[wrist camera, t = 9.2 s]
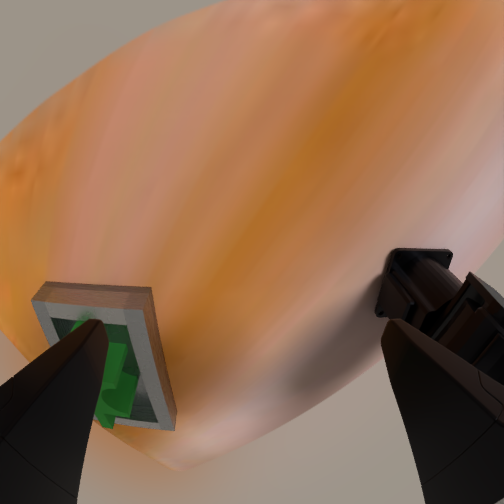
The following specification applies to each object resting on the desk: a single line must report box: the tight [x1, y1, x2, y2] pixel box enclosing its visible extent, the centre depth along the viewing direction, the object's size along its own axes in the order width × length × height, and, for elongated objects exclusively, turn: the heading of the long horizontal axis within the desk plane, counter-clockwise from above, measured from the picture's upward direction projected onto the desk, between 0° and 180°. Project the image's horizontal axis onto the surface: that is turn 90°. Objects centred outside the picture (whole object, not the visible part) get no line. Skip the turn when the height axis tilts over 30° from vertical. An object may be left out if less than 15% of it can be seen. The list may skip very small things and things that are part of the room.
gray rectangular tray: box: [31, 281, 177, 431], centre depth 24 cm, size 10×17×3 cm, turn 177°
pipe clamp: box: [71, 321, 138, 429], centre depth 22 cm, size 11×4×5 cm, turn 177°
